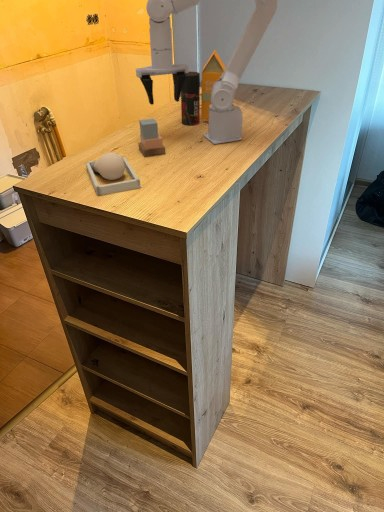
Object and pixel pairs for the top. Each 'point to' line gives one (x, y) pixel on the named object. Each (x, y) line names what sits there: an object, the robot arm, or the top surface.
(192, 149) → the top surface
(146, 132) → the slate cube
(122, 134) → the top surface
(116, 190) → the grey tray rim
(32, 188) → the top surface
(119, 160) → the light bulb
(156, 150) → the walnut slab
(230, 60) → the robot arm
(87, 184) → the top surface
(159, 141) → the terracotta slab
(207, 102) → the orange juice
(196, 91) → the deodorant
